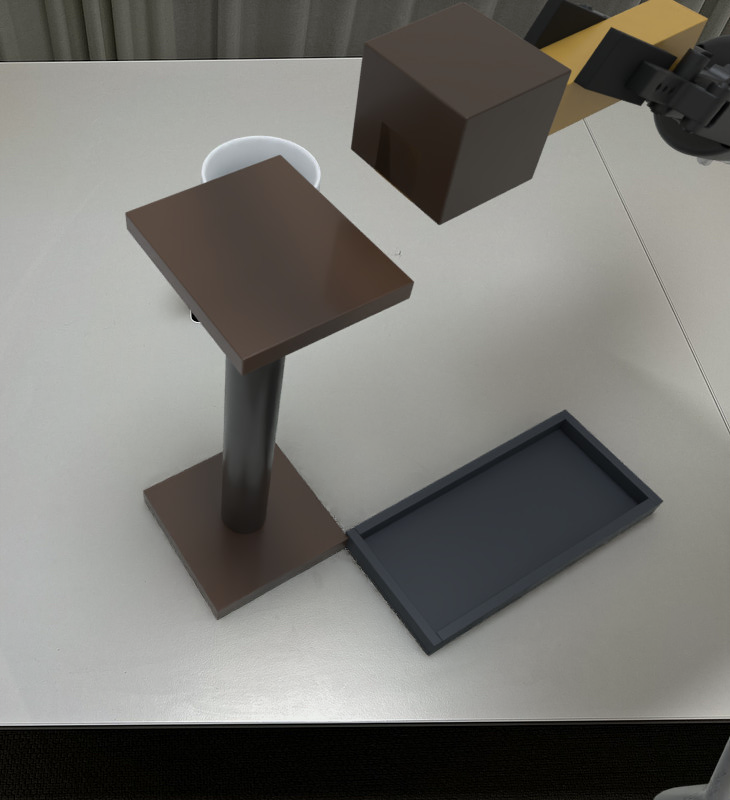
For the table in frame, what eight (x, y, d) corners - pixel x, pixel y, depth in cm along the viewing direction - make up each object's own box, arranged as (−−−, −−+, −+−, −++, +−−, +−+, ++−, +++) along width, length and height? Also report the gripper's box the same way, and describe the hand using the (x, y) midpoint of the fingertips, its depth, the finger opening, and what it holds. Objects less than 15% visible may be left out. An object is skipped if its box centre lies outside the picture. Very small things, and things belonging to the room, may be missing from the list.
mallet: (612, 30, 46) (655, -80, 41) (713, 88, 43) (774, -24, 38) (349, 149, 41) (363, 42, 36) (438, 226, 38) (467, 118, 33)
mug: (211, 348, 76) (211, 245, 65) (149, 282, 81) (140, 177, 71) (329, 284, 81) (347, 179, 70) (263, 226, 86) (271, 120, 76)
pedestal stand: (264, 440, 69) (294, 148, 45) (346, 547, 63) (431, 274, 39) (144, 500, 66) (107, 218, 42) (217, 620, 60) (223, 369, 36)
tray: (557, 421, 70) (565, 408, 69) (652, 512, 65) (664, 500, 63) (342, 542, 63) (345, 531, 62) (428, 656, 58) (434, 646, 56)
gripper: (794, 218, 51) (645, 198, 37) (603, 97, 60) (419, 41, 45) (898, 111, 47) (776, 40, 32) (676, -4, 55) (498, -103, 41)
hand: (569, 40), depth 39 cm, fingers closed on mallet, 3 cm apart
